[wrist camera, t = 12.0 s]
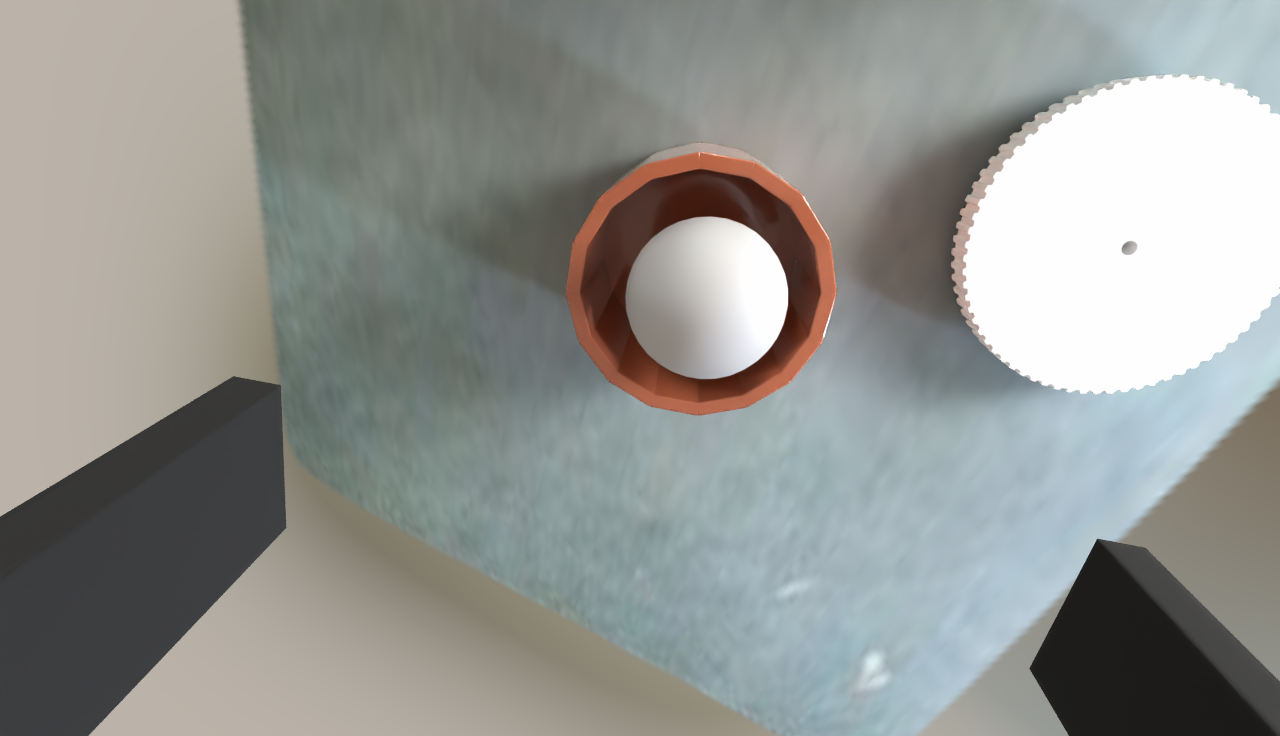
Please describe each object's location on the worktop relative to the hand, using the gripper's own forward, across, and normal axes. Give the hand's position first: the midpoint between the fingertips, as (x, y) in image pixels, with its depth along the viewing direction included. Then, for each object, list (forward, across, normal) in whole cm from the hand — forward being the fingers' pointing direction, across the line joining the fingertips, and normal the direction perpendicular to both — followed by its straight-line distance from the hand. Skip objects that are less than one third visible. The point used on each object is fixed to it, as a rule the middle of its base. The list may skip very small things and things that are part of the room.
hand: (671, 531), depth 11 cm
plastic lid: (+24, +19, +4) cm, 31 cm away
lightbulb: (+24, +1, 0) cm, 24 cm away
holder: (+24, +1, 0) cm, 24 cm away
